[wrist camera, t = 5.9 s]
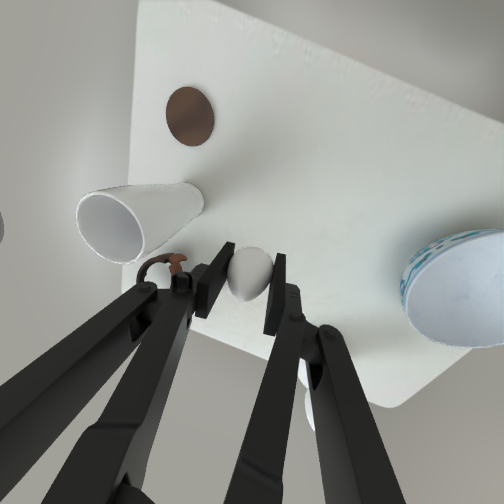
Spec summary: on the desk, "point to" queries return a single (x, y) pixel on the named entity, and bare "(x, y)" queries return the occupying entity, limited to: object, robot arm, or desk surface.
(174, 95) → the coaster
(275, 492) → the robot arm
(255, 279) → the egg
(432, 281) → the chinaware
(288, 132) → the desk surface
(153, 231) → the drinking glass
